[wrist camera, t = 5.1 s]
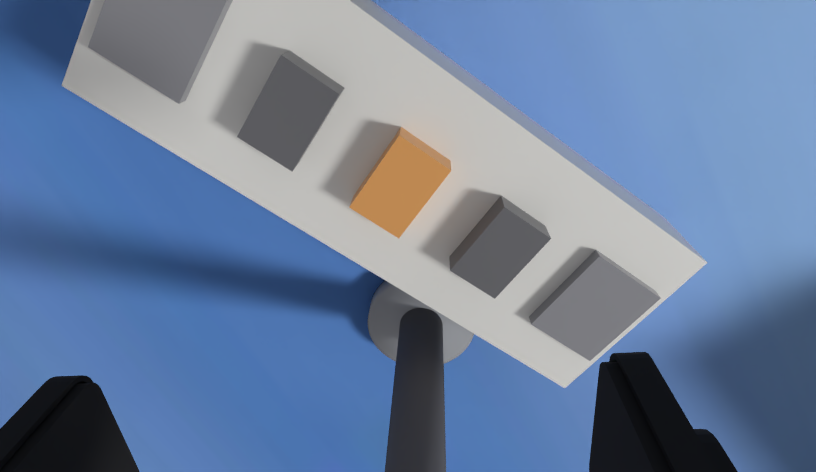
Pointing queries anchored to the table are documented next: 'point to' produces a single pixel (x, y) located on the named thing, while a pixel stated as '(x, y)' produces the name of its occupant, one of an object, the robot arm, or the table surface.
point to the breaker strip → (391, 164)
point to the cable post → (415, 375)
